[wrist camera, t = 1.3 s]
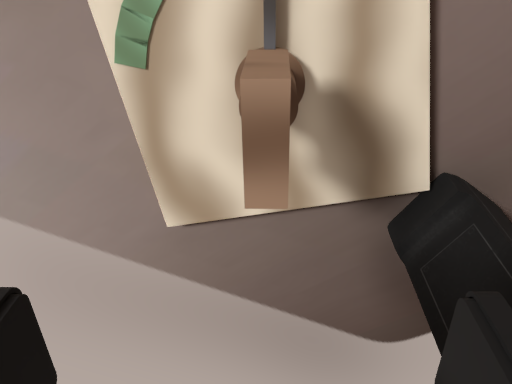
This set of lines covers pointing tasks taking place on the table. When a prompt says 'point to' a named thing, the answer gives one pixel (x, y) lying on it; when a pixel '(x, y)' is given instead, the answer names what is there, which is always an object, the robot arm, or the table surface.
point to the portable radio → (453, 248)
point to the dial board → (309, 109)
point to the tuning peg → (268, 116)
